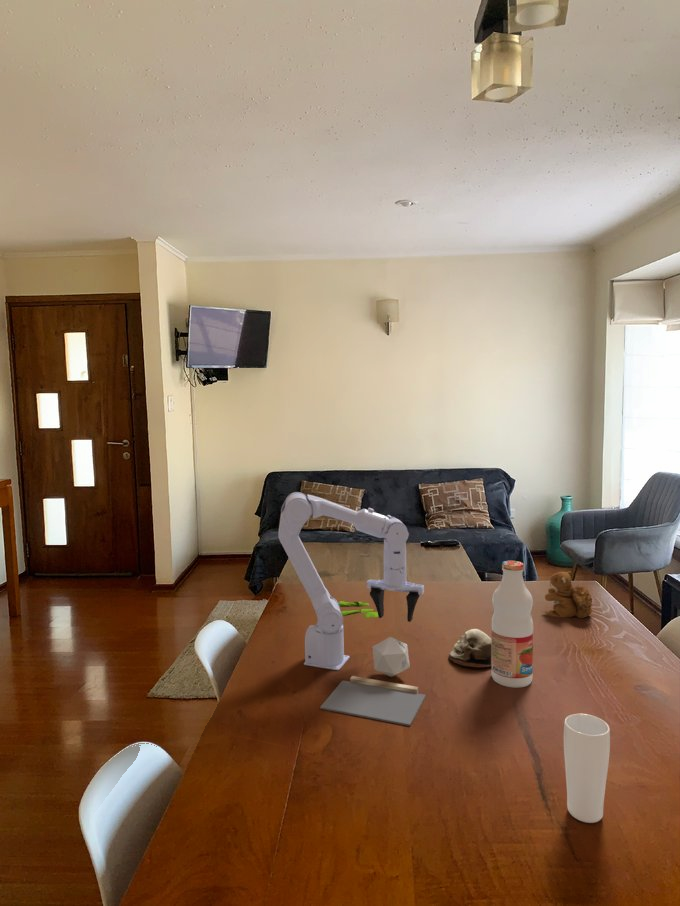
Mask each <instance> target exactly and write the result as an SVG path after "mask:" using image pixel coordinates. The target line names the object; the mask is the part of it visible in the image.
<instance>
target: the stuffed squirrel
mask: <svg viewBox="0 0 680 906" xmlns="http://www.w3.org/2000/svg"><path fill="white" fill-rule="evenodd" d="M571 575H572V571H558V572H555V573H553V574H552V575H551V576H550V581H549V582H550V583H549V587H548V591H547V592H548V593H546V594H545V595H544V599H545V600H546V601H548V602H553V604H552V610H551V609H550V610H548V611H547V612H546V613H545V614H546V616H551V617H557V618H559V617H560V618H572V617H577V618H578V619H579V618H580V619H584V618H586V617H589V615H591V614H592V612H593V609H592V607H593V598H592V595H591V594H590V593H589V591H588V589H587V588H586V586H585V587H584V586H580V585H577V586H574V587H573V585H572V577H571Z"/></svg>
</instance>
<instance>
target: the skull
mask: <svg viewBox="0 0 680 906" xmlns="http://www.w3.org/2000/svg"><path fill="white" fill-rule="evenodd" d="M491 638H492V637H490V636H489V635H488V634H487V633H485V632H484V631H482V630H480V629H479V628H472V629H469V630H467V631H465V632H464V635H461V636H460V637H459V640H457V642H455V644H454V645H453V650H452V651H451V652H450V653H449V655H448V658H449V659H450V661H452V662H453V663H455V664H458V666H459V665H460V666H464V667H471V668H488V667H491Z"/></svg>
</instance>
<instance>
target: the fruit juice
mask: <svg viewBox="0 0 680 906" xmlns="http://www.w3.org/2000/svg"><path fill="white" fill-rule="evenodd" d="M501 570H502V571H503V572H502V579H501V581H500V584H499V586H498V587H496V589H495V590H494V592H493V593H492V599H491V600H492V601H491V602H492V606H493V609H494V610H493V611H494V612H493V613H492V614H493V615H492V616H491V637H490V638H491V666H490V667H491V668H490V669H491V670H490V671H491V673H490V674H491V678H492V680H493V682H495V683H497V684H499V685H500V686H504V687H508V688H517V689H518V688H524V687H528V686H529V685H530V684H532V681H533V677H534V675H533V673H534V669H533V668H534V666H533V665H534V620H533V617H532V614H531V612H532V609H533V606H534V598H533V596H532V594H531V592H530V591H529V589H528V588H527V587H526V584H525V581H524V578H523V573H524V570H525V564H524V563H523V562H521V561H517V560H506V561H505V560H504V561H502V563H501Z"/></svg>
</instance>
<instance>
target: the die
mask: <svg viewBox="0 0 680 906" xmlns="http://www.w3.org/2000/svg"><path fill="white" fill-rule="evenodd" d="M372 657H373V658H372V659H373V667H374V670H375V671H376V672H379V673H382V674H384V675H385V676H387V677H390V678H392V677H394V676H396V675H398V674H400V673H402V672H404V671H405V670H407V669H409V668H411V665H410V657H409V648H408V644H407V643H405V642H403V641H401V640H399V639H397V638H395V637H392V636H389V637H388V638H386V639H384V640H382V641H380V642H378V643H377V644H374V645H373V646H372Z"/></svg>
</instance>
